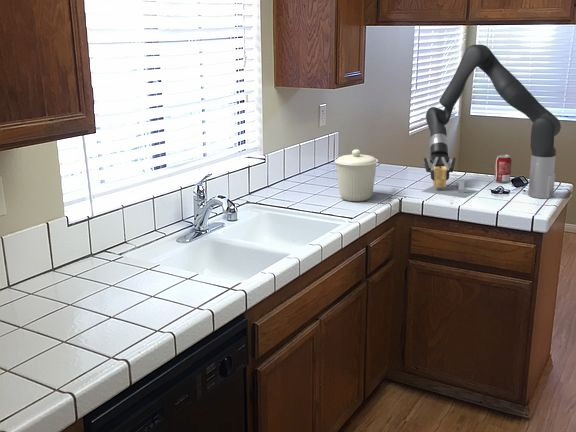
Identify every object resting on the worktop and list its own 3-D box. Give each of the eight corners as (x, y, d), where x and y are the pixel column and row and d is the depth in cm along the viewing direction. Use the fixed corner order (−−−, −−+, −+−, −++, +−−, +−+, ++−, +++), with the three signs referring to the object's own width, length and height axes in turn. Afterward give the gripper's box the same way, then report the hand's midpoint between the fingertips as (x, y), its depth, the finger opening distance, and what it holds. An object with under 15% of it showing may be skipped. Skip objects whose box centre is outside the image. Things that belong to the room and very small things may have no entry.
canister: (363, 206, 257) (363, 155, 251) (326, 200, 268) (325, 151, 262) (385, 196, 271) (386, 147, 265) (349, 191, 282) (349, 144, 276)
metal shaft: (463, 192, 269) (463, 180, 267) (463, 193, 267) (464, 181, 266) (458, 192, 269) (458, 180, 268) (458, 193, 268) (459, 181, 266)
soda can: (511, 183, 288) (513, 157, 284) (496, 183, 288) (498, 157, 285) (507, 179, 294) (509, 154, 291) (492, 180, 294) (494, 154, 291)
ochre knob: (444, 184, 276) (445, 165, 273) (446, 187, 271) (446, 167, 269) (433, 184, 276) (433, 165, 274) (434, 187, 272) (434, 167, 269)
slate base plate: (478, 194, 271) (478, 190, 270) (465, 201, 260) (465, 197, 260) (435, 188, 283) (435, 184, 283) (420, 194, 272) (420, 191, 272)
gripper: (422, 141, 277) (423, 174, 269) (456, 141, 275) (458, 174, 267) (421, 151, 283) (422, 184, 275) (454, 151, 281) (456, 184, 273)
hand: (440, 179), depth 271 cm, fingers closed on ochre knob, 5 cm apart
